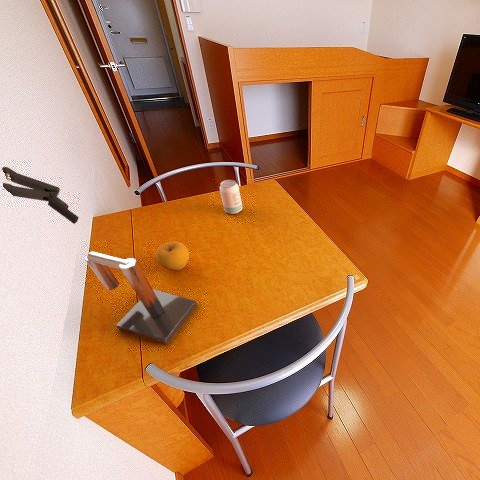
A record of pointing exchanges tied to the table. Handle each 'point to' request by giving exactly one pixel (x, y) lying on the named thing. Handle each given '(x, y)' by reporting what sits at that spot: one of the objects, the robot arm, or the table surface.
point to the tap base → (158, 318)
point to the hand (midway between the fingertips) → (48, 238)
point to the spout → (132, 274)
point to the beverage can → (231, 196)
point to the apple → (172, 255)
